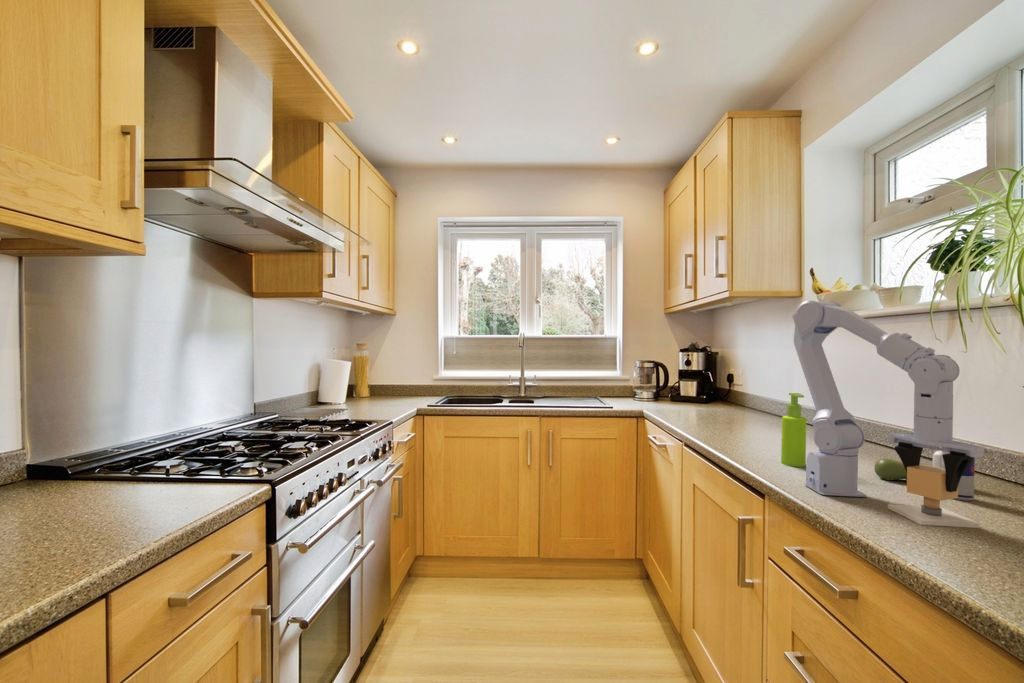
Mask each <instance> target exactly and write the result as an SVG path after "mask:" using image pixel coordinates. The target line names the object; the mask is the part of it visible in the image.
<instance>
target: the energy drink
mask: <svg viewBox="0 0 1024 683" xmlns="http://www.w3.org/2000/svg"><path fill="white" fill-rule="evenodd" d="M961 443H963V442H961ZM965 443H966V444H970V445H973V444H971V443H967V442H965ZM943 454H950V452H944V451H942V455H943ZM975 459H976V458H974V457H973V461H972V462H971V463H970V464H969V465H968V467H967V468H966V470H965V471H964V473H963V475H962V477H961V479H960V481H959V484H958V498H954V499H953V500H955V501H963V502H964V501H965V502H972V501H973V500H974V499H975V467H976V466H975V464H976V463H975ZM942 468H943V469H945V465H944V460H943V457H942Z"/></svg>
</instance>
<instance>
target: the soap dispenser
mask: <svg viewBox="0 0 1024 683" xmlns="http://www.w3.org/2000/svg"><path fill="white" fill-rule="evenodd" d="M788 396H790V403H789V404H787V405H786V406H787V407H786V408H787V409H786V410H787V411H786V415H783V416H782V417H781V448H780V449H781V453H780V455H781V456H780V457H781V459H780V460H781V461H780V463H781V464H783V465H785V466H790V467H795V468H796V467H798V468H801V467H803V468H804V467H805V466H806V460H807V457H806V456H807V455H806V454H807V453H806V452H807V451H806V450H807V418H806V417H803V416H802V405H801V404H800V403H799V398H802V399H803V398H804V397H805V396H804V395H803V394H802V393H798V392H789V393H788Z"/></svg>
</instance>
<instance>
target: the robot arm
mask: <svg viewBox="0 0 1024 683" xmlns="http://www.w3.org/2000/svg"><path fill="white" fill-rule="evenodd" d="M791 316H792V319H793V323H794V330H793V331H794V332H793V345H794V348H795V351H796V354H797V357H798V360H799V363H800V366H801V370H802V373H803V375H804V377H805V380H806V384H807V388H808V390H809V392H810V396H811V398H812V402H813V405H814V407H815V411H816V414H815V416H814V417H813V418H812V420H811V422H812V426H813V433H812V436H813V438H812V439H813V442H814V444H815V445H816V447H817V448H818V451H809V453H808V454H807V455H806V456H807V457H806V465H805V466H806V467H805V470H806V472H805V473H806V474H805V482H804V485H805V486H806V487H807V488H810V489H811V490H813V491H814V492H816V493H818V494H820V495H822V496H837V497H838V496H840V497H857V498H860V497H861V498H867V497H868V495H867V494H866V493H864V492H862V491H860V490H858V480H859V477H858V474H859V473H858V471H859V461H858V460H859V449H860V448H862V447H863V446H864V443H865V441H866V435H865V431H864V430H863V428H862V427H861V426H860V425H859V424H858V423H857V422H856V419H855V417H854V415H853V414H852V413H850V411H848V410H847V409H846V408H845V406H844V404H843V401H842V398H841V395H840V393H839V390H838V386H837V384H836V381H835V378H834V375H833V373H832V370H831V367H830V364H829V360H828V359H827V355H826V354H825V350H824V348H823V342H824V341H825V340H826V338H827V337H828V336H830V334H832V333H833V332H834V331H835V330H837V329H838V328H843V329H845V330H846V331H848V332H850V333H852V334H854V335H855V336H857V337H859V338H861V339H863V340H865V341H866V342H868V343H870V344H872V345H873V346H875V348H876V353H877V354H878V356H880V357H881V358H884V359H885V360H887V361H888V362H890V363H891V364H893V365H895V366H896V367H898V368H899V369H901V370H903V371H905V372H906V373H907V375H908V377H909V378H910V380H911V381H912V382H913V383H914V390H913V393H914V395H913V434H907V433H900V432H899V433H898V432H888V439H887V440H888V443H890V444H891V443H892V444H897V445H896V446H894V450H895V452H896V453H897V455H898V457H899V459H900V460H901V461H900V462H902V463H903V465H904V467H905V470H906V473H907V467H910V466H918V465H921V464H920V463H921V457H922V453H923V449H928V450H935V451H944V452H950V454H943V455H942V457H943V460H944V465H945V472H946V482H945V485H946V491H948V492H955V491H957V487H958V484H959V481H960V479H961V477H962V475H963V473H964V471H965V470H966V468H967V467H968V465H969V464H970V463H971V462H972V461H973V457H974V458H975V459H980V458H983V457H984V447H983V446H979V445H975V444H972V445H970V444H971V443H968V444H966V443H967V442H962V443H961V442H960V441H956V440H954V438H953V436H954V435H953V427H954V424H953V422H954V382H955V381H956V380H957V378H959V376H960V367H959V365H958V363H957V362H956V360H954V359H953V358H951V356H949V355H946V354H935V352H936V349H933V348H932V347H925V346H924V345H922V344H920V343H918V342H916V341H915V340H913V339H912V338H913V336H912V335H910V334H908V333H903V332H902V333H900V332H892V333H888V332H886V331H884V330H883V329H881V328H880V327H879V326H876V325H875V324H874V323H872V322H870V321H869V320H867V319H866V318H864V317H862V316H861V315H859V314H858V313H856V312H855V311H853V310H852V309H850V308H849V307H846V306H842V305H841V304H840V303H838V302H835V301H834V302H832V301H831V302H827V301H826V302H825V301H816V300H812V299H811V300H805V301H803V302H801V303H800V304H799V305H798V306H797V308H796V310H795V311H794V313H792V315H791ZM940 447H942V448H940Z"/></svg>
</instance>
